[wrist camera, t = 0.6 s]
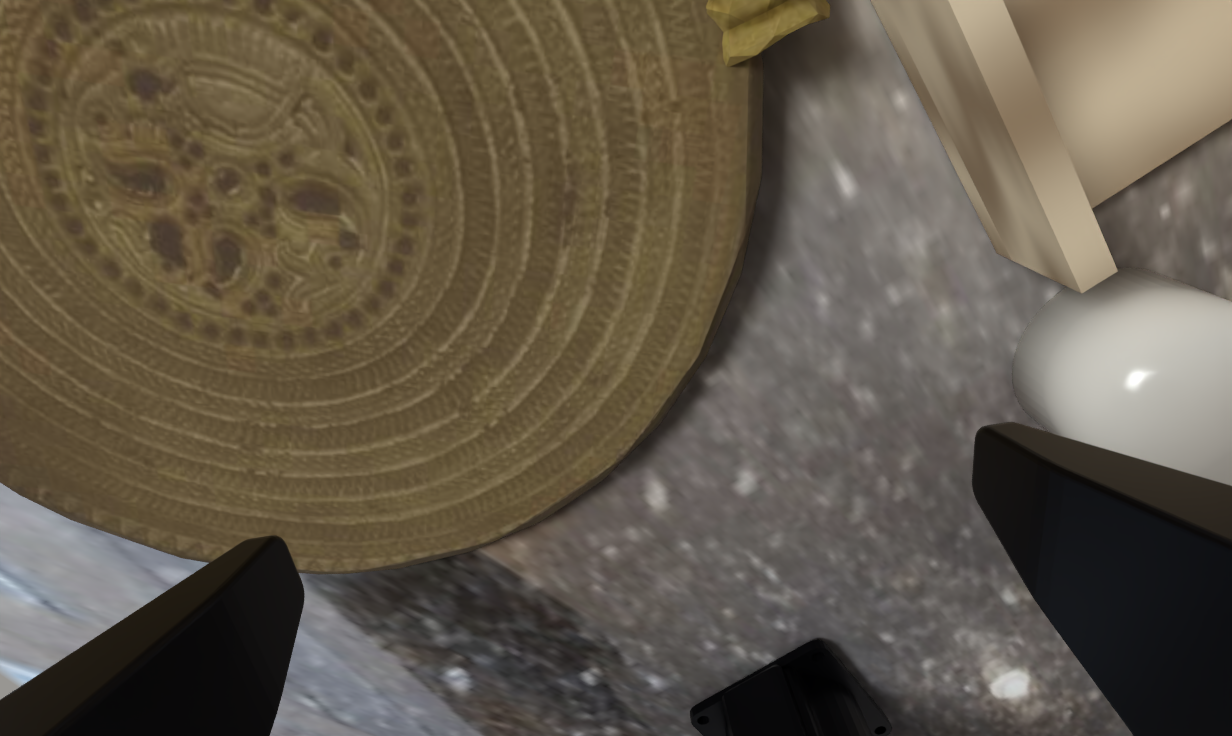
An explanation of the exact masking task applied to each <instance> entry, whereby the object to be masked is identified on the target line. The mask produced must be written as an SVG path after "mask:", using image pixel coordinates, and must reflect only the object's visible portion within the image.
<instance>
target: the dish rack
mask: <svg viewBox="0 0 1232 736" xmlns="http://www.w3.org/2000/svg"><path fill="white" fill-rule="evenodd" d="M871 2H872V4H873V6H874V8H875V10H876V12H877V14H878V16H879V18H880V20H881V22H882V24H883V26H884V28H885V30H886V32H887V34H888V36H889V38H890V40H891V42H892V44H893V46H894V48H895V50H896V52H897V54H898V56H899V58H900V60H901V62H902V64H903V66H904V68H905V70H906V72H907V74H908V76H909V78H910V80H911V82H912V84H913V86H914V88H915V90H916V92H917V94H918V96H919V98H920V100H921V102H922V104H923V106H924V108H925V110H926V112H927V114H928V116H929V118H930V120H931V122H932V124H933V126H934V128H935V130H936V132H937V134H938V136H939V138H940V140H941V142H942V144H943V146H944V148H945V150H946V152H947V154H948V156H949V158H950V160H951V162H952V164H953V166H954V168H955V170H956V172H957V174H958V176H959V178H960V180H961V182H962V184H963V186H964V188H965V190H966V192H967V194H968V196H969V198H970V200H971V202H972V204H973V206H974V208H975V210H976V212H977V214H978V216H979V218H980V220H981V222H982V224H983V226H984V228H985V230H986V232H987V234H988V236H989V238H990V240H991V242H992V244H993V246H994V248H995V250H996V252H997V254H1000V255H1002V256H1004V257H1006V258H1008V259H1010V260H1012V261H1014V262H1016V263H1019V264H1021V265H1023V266H1025V267H1027V268H1029V269H1031V270H1033V271H1035V272H1037V273H1040V274H1042V275H1044V276H1046V277H1048V278H1050V279H1052V280H1054V281H1056V282H1059V283H1061V284H1063V285H1065V286H1067V287H1069V288H1071V289H1073V290H1075V291H1077V292H1080V293H1083V292H1085V291H1087V290H1088V289H1090V288H1092V287H1093V286H1095V285H1096V284H1098V283H1100V282H1101V281H1103V280H1105V279H1106V278H1108V277H1109V276H1111V275H1113V274H1114V273H1116V272H1117V271H1118V270H1117V268H1116V265H1115V263H1114V261H1113V258H1112V256H1111V254H1110V251H1109V249H1108V246H1107V244H1106V242H1105V239H1104V237H1103V235H1102V232H1101V230H1100V228H1099V225H1098V223H1097V221H1096V218H1095V216H1094V213H1093V211H1092V208H1094V207H1095V206H1097V205H1099V204H1100V203H1102V202H1103V201H1105V200H1106V199H1108V198H1109V197H1111V196H1113V195H1114V194H1116V193H1117V192H1119V191H1120V190H1122V189H1123V188H1125V187H1127V186H1128V185H1130V184H1131V183H1133V182H1134V181H1136V180H1138V179H1139V178H1141V177H1142V176H1144V175H1145V174H1147V173H1148V172H1150V171H1152V170H1153V169H1155V168H1156V167H1158V166H1159V165H1161V164H1162V163H1164V162H1166V161H1167V160H1169V159H1170V158H1172V157H1173V156H1175V155H1176V154H1178V153H1180V152H1181V151H1183V150H1184V149H1186V148H1187V147H1189V146H1191V145H1192V144H1194V143H1195V142H1197V141H1198V140H1200V139H1201V138H1203V137H1205V136H1206V135H1208V134H1209V133H1211V132H1212V131H1214V130H1215V129H1217V128H1219V127H1220V126H1222V125H1223V124H1225V123H1226V122H1228V121H1230V120H1231V119H1232V0H871Z"/></svg>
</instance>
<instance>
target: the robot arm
mask: <svg viewBox="0 0 1232 736" xmlns="http://www.w3.org/2000/svg"><path fill="white" fill-rule="evenodd" d="M972 487H973V492H974V495H975V498H976V500H977V502H978V504H979V506H980V507H981V509H982V511H983V513H984V514H985V516H986V518H987V519H988V521H989V523H990V525H991V526H992V528H993V530H994V532H995V533H996V535H997V537H998V538H999V540H1000V542H1001V544H1002V545H1003V547H1004V549H1005V551H1006V552H1007V554H1008V556H1009V557H1010V559H1011V561H1012V563H1013V564H1014V566H1015V568H1016V570H1017V571H1018V573H1019V575H1020V576H1021V578H1022V580H1023V582H1024V583H1025V585H1026V586H1027V588H1028V590H1029V591H1030V593H1031V595H1032V596H1033V598H1034V599H1035V601H1036V602H1037V604H1038V605H1039V606H1040V608H1041V609H1042V611H1043V612H1044V614H1045V615H1046V617H1047V618H1048V619H1049V621H1050V622H1051V623H1052V625H1053V626H1054V627H1055V629H1056V630H1057V632H1058V633H1059V634H1060V636H1061V637H1062V638H1063V640H1064V641H1065V642H1066V644H1067V645H1068V647H1069V648H1070V649H1071V651H1072V652H1073V653H1074V655H1075V656H1076V657H1077V659H1078V660H1079V662H1080V663H1081V664H1082V666H1083V667H1084V668H1085V670H1086V671H1087V672H1088V674H1089V675H1090V677H1091V678H1092V679H1093V681H1094V682H1095V683H1096V685H1097V686H1098V687H1099V689H1100V690H1101V692H1102V693H1103V694H1104V696H1105V697H1106V698H1107V700H1108V701H1109V702H1110V704H1111V705H1112V707H1113V708H1114V709H1115V711H1116V712H1117V713H1118V715H1119V716H1120V717H1121V719H1122V720H1123V722H1124V723H1125V724H1126V726H1127V727H1128V728H1129V730H1130V731H1131V732H1132V734H1133V735H1134V736H1232V486H1231V485H1227V484H1224V483H1220V482H1217V481H1214V480H1210V479H1207V478H1203V477H1200V476H1196V475H1193V474H1190V473H1186V472H1183V471H1179V470H1176V469H1173V468H1169V467H1166V466H1162V465H1159V464H1155V463H1152V462H1149V461H1145V460H1142V459H1138V458H1135V457H1131V456H1128V455H1125V454H1121V453H1118V452H1114V451H1111V450H1108V449H1104V448H1101V447H1097V446H1094V445H1090V444H1087V443H1084V442H1080V441H1077V440H1073V439H1070V438H1066V437H1063V436H1060V435H1056V434H1053V433H1049V432H1046V431H1042V430H1039V429H1036V428H1032V427H1029V426H1025V425H1022V424H1019V423H1015V422H1006V423H1000V424H993V425H987V426H983V427H981V428H980V429H979V430H978V431H977V433H976V437H975V445H974V459H973V473H972ZM303 605H304V588H303V584H302V581H301V578H300V576H299V574H298V571H297V569H296V566H295V564H294V561H293V559H292V556H291V554H290V552H289V549H288V547H287V545H286V543H285V541H284V540H283V539H282V538H281V537H279V536H277V535H270V536H264V537H257V538H251V539H247V540H244V541H243V542H241V543H239V544H238V545H236V546H235V547H233V548H232V549H230V550H229V551H227V552H226V553H224V554H223V555H221V556H220V557H218V558H216V559H215V560H213V561H212V562H210V563H209V564H207V565H206V566H204V567H203V568H201V569H200V570H198V571H197V572H195V573H194V574H192V575H190V576H189V577H187V578H186V579H184V580H183V581H181V582H180V583H178V584H177V585H175V586H174V587H172V588H171V589H169V590H168V591H166V592H164V593H163V594H161V595H160V596H158V597H157V598H155V599H154V600H152V601H151V602H149V603H148V604H146V605H145V606H143V607H142V608H140V609H138V610H137V611H135V612H134V613H132V614H131V615H129V616H128V617H126V618H125V619H123V620H122V621H120V622H119V623H117V624H115V625H114V626H112V627H111V628H109V629H108V630H106V631H105V632H103V633H102V634H100V635H99V636H97V637H96V638H94V639H93V640H91V641H89V642H88V643H86V644H85V645H83V646H82V647H80V648H79V649H77V650H76V651H74V652H73V653H71V654H70V655H68V656H67V657H65V658H63V659H62V660H60V661H59V662H57V663H56V664H54V665H53V666H51V667H50V668H48V669H47V670H45V671H44V672H42V673H41V674H39V675H37V676H36V677H34V678H33V679H31V680H30V681H28V682H27V683H25V684H24V685H22V686H21V687H19V688H18V689H16V690H14V691H13V692H12V693H10V694H8V695H7V696H5V697H4V698H2V699H1V700H0V736H270V733H271V730H272V727H273V723H274V720H275V717H276V714H277V711H278V707H279V704H280V700H281V696H282V692H283V688H284V684H285V680H286V676H287V672H288V667H289V663H290V659H291V655H292V651H293V647H294V643H295V638H296V634H297V630H298V626H299V622H300V618H301V614H302V609H303ZM817 652H818V653H817ZM815 653H816V654H815ZM690 718H691V723H692V725H693V726H694V727H695V728H696V729H697V730H698V731H699V732H700V733H701V734H702V735H703V736H887V735H889V734H890V732H891V730H892V727H891V725H890V723H889V720H888V718H887V717H886V715H885V714H884V713H883V712H882V711H881V709H880V708H879V707H878V706H877V705H876V703H875V702H874V701H873V700H872V699H871V697H870V696H869V695H868V694H867V693H866V691H865V690H864V689H863V688H862V687H861V685H860V684H859V683H858V682H857V680H856V679H855V678H854V677H853V676H852V674H851V673H850V672H849V671H848V670H847V668H846V667H845V666H844V665H843V664H842V662H841V661H840V660H839V659H838V658H837V656H836V655H835V654H834V653H833V652H832V650H831V649H830V648H829V647H828V646H827V644H826V643H824V642H823V641H820V640H813V641H810V642H808V643H806V644H804V645H803V646H801V647H799V648H797V649H796V650H794V651H792V652H790V653H788V654H787V655H785V656H783V657H781V658H779V659H778V660H776V661H774V662H772V663H770V664H769V665H767V666H765V667H763V668H762V669H760V670H758V671H756V672H754V673H753V674H751V675H749V676H747V677H745V678H744V679H742V680H740V681H738V682H736V683H735V684H733V685H731V686H729V687H727V688H726V689H724V690H722V691H720V692H719V693H717V694H715V695H713V696H711V697H710V698H708V699H706V700H704V701H702V702H701V703H699V704H697V705H695V706H694V707H693V708H692V709H691V711H690Z"/></svg>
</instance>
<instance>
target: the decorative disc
mask: <svg viewBox="0 0 1232 736" xmlns="http://www.w3.org/2000/svg"><path fill="white" fill-rule="evenodd" d="M829 16H830V5H829V3H828V2H827V1H826V0H0V483H2V484H4V485H5V486H7V487H8V488H10V489H11V490H13V491H14V492H16V493H18V494H19V495H21V496H23V497H25V498H27V499H29V500H31V501H33V502H35V503H37V504H39V505H42V506H44V507H46V508H48V509H50V510H52V511H54V512H56V513H58V514H60V515H62V516H64V517H66V518H68V519H70V520H73V521H76V522H79V523H81V524H84V525H87V526H90V527H93V528H96V529H99V530H102V531H104V532H107V533H110V534H113V535H116V536H119V537H122V538H125V539H128V540H130V541H133V542H136V543H139V544H142V545H145V546H148V547H151V548H153V549H156V550H159V551H162V552H165V553H168V554H171V555H174V556H177V557H180V558H185V559H191V560H196V561H202V562H208V563H210V562H212V561H213V560H215V559H216V558H218V557H220V556H221V555H223V554H224V553H226V552H227V551H229V550H230V549H232V548H233V547H235V546H236V545H238V544H239V543H241V542H243V541H244V540H247V539H251V538H257V537H264V536H270V535H277V536H279V537H281V538H282V539H283V540H284V541H285V543H286V545H287V547H288V549H289V552H290V554H291V556H292V559H293V561H294V564H295V566H296V569H297V571H298V573H309V574H349V573H359V572H369V571H379V570H390V569H398V568H403V567H407V566H411V565H415V564H420V563H424V562H428V561H432V560H437V559H441V558H445V557H449V556H453V555H458V554H462V553H466V552H470V551H473V550H475V549H478V548H480V547H482V546H485V545H487V544H489V543H492V542H494V541H496V540H499V539H501V538H504V537H506V536H508V535H511V534H513V533H515V532H518V531H520V530H522V529H525V528H527V527H529V526H532V525H534V524H536V523H539V522H541V521H542V520H544V519H545V518H547V517H548V516H550V515H551V514H553V513H554V512H556V511H557V510H559V509H560V508H562V507H563V506H565V505H566V504H568V503H569V502H571V501H572V500H574V499H575V498H577V497H578V496H580V495H581V494H583V493H584V492H586V491H587V490H589V489H590V488H592V487H594V486H595V485H597V484H598V483H600V482H601V481H603V480H604V479H605V478H606V477H607V476H608V475H609V474H610V473H611V472H612V471H613V470H614V469H615V468H616V467H617V466H618V465H619V464H620V463H621V462H622V461H623V460H624V459H625V458H626V457H627V456H628V455H629V454H630V453H631V452H632V451H633V450H634V449H635V448H636V447H637V446H639V445H640V444H641V443H642V442H643V441H644V440H645V439H646V438H647V437H648V436H649V435H650V434H651V433H652V432H653V431H654V430H655V429H656V428H657V427H658V426H659V425H660V423H661V422H662V421H663V419H664V418H665V416H666V415H667V413H668V412H669V410H670V409H671V407H672V406H673V404H674V403H675V401H676V400H677V398H678V397H679V396H680V394H681V393H682V391H683V390H684V388H685V387H686V385H687V384H688V382H689V381H690V379H691V378H692V376H693V375H694V374H695V372H696V371H697V369H698V368H699V366H700V365H701V363H702V362H703V360H704V359H705V357H706V356H707V353H708V351H709V349H710V346H711V344H712V342H713V339H714V337H715V335H716V332H717V330H718V327H719V325H720V323H721V320H722V318H723V316H724V313H725V311H726V309H727V306H728V304H729V302H730V299H731V297H732V294H733V292H734V290H735V287H736V285H737V283H738V280H739V278H740V276H741V273H742V268H743V263H744V259H745V254H746V249H747V244H748V240H749V235H750V230H751V225H752V221H753V216H754V211H755V206H756V201H757V197H758V192H759V187H760V182H761V178H762V129H763V70H764V66H763V60H762V54H761V52H762V51H764V50H765V49H767V48H768V47H770V46H771V45H773V44H774V43H776V42H777V41H779V40H780V39H782V38H783V37H785V36H786V35H788V34H789V33H791V32H793V31H795V30H797V29H799V28H801V27H803V26H806V25H808V24H811V23H814V22H817V21H820V20H824V19H827V18H829Z"/></svg>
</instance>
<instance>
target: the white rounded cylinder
mask: <svg viewBox="0 0 1232 736" xmlns="http://www.w3.org/2000/svg"><path fill="white" fill-rule="evenodd" d="M1117 270H1118V271H1117V272H1116V273H1114V274H1113V275H1111V276H1109V277H1108V278H1106V279H1105V280H1103V281H1101V282H1100V283H1098V284H1096V285H1095V286H1093V287H1092V288H1090V289H1088V290H1087V291H1085V292H1083V293H1080V292H1077V291H1075V290H1073V289H1071V288H1069V287H1066V288H1065V289H1063V290H1062V291H1060V292H1059V293H1058V294H1056V295H1055V296H1054V297H1053V298H1052V299H1051V300H1049V301H1048V302H1047V303H1046V304H1045V305H1044V306H1043V307H1042V308H1041V309H1040V310H1039V311H1038V313H1037V314H1036V315H1035V316H1034V318H1033V319H1032V320H1031V322H1030V323H1029V325H1028V326H1027V328H1026V329H1025V331H1024V333H1023V335H1022V337H1021V339H1020V341H1019V343H1018V346H1017V349H1016V352H1015V355H1014V360H1013V366H1012V383H1013V388H1014V392H1015V395H1016V397H1017V400H1018V402H1019V404H1020V405H1021V407H1022V408H1023V410H1024V411H1025V412H1026V413H1027V414H1028V415H1029V416H1030V417H1032V418H1033V419H1034V420H1035V421H1037V422H1038V423H1039V424H1040V425H1042V426H1043V427H1044V428H1045V429H1047V430H1048V431H1049V432H1050V433H1053V434H1056V435H1060V436H1063V437H1066V438H1070V439H1073V440H1077V441H1080V442H1084V443H1087V444H1090V445H1094V446H1097V447H1101V448H1104V449H1108V450H1111V451H1114V452H1118V453H1121V454H1125V455H1128V456H1131V457H1135V458H1138V459H1142V460H1145V461H1149V462H1152V463H1155V464H1159V465H1162V466H1166V467H1169V468H1173V469H1176V470H1179V471H1183V472H1186V473H1190V474H1193V475H1196V476H1200V477H1203V478H1207V479H1210V480H1214V481H1217V482H1220V483H1224V484H1227V485H1231V486H1232V301H1229V300H1226V299H1224V298H1221V297H1218V296H1216V295H1213V294H1211V293H1208V292H1205V291H1203V290H1200V289H1197V288H1195V287H1192V286H1189V285H1187V284H1184V283H1182V282H1179V281H1176V280H1174V279H1171V278H1168V277H1166V276H1163V275H1160V274H1158V273H1155V272H1153V271H1149V270H1145V269H1141V268H1117Z"/></svg>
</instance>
